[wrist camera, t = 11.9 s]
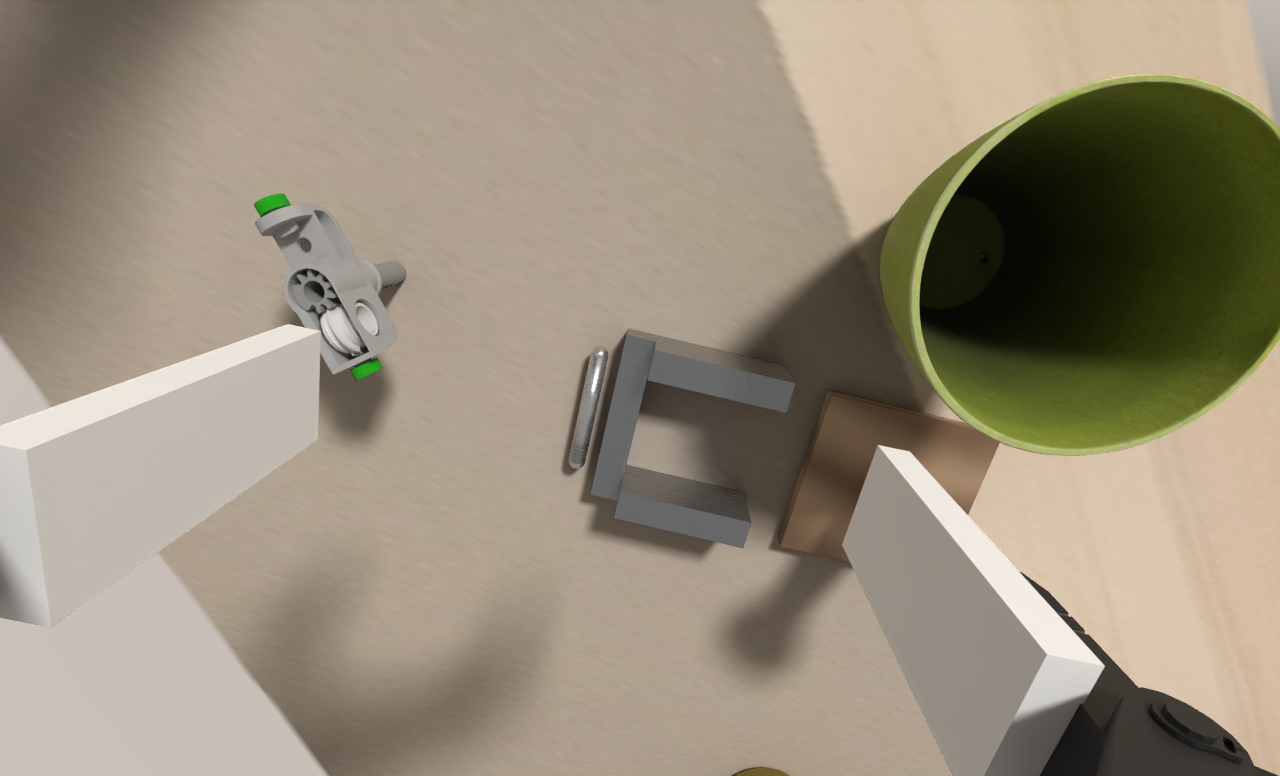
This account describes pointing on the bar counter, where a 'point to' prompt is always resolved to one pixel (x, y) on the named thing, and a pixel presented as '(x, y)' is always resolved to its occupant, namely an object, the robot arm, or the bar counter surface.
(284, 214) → the mechanical component
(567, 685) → the bar counter surface
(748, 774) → the olive glossy bulbous piece
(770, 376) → the vise
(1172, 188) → the flower pot
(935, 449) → the walnut board
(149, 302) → the bar counter surface
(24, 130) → the bar counter surface
